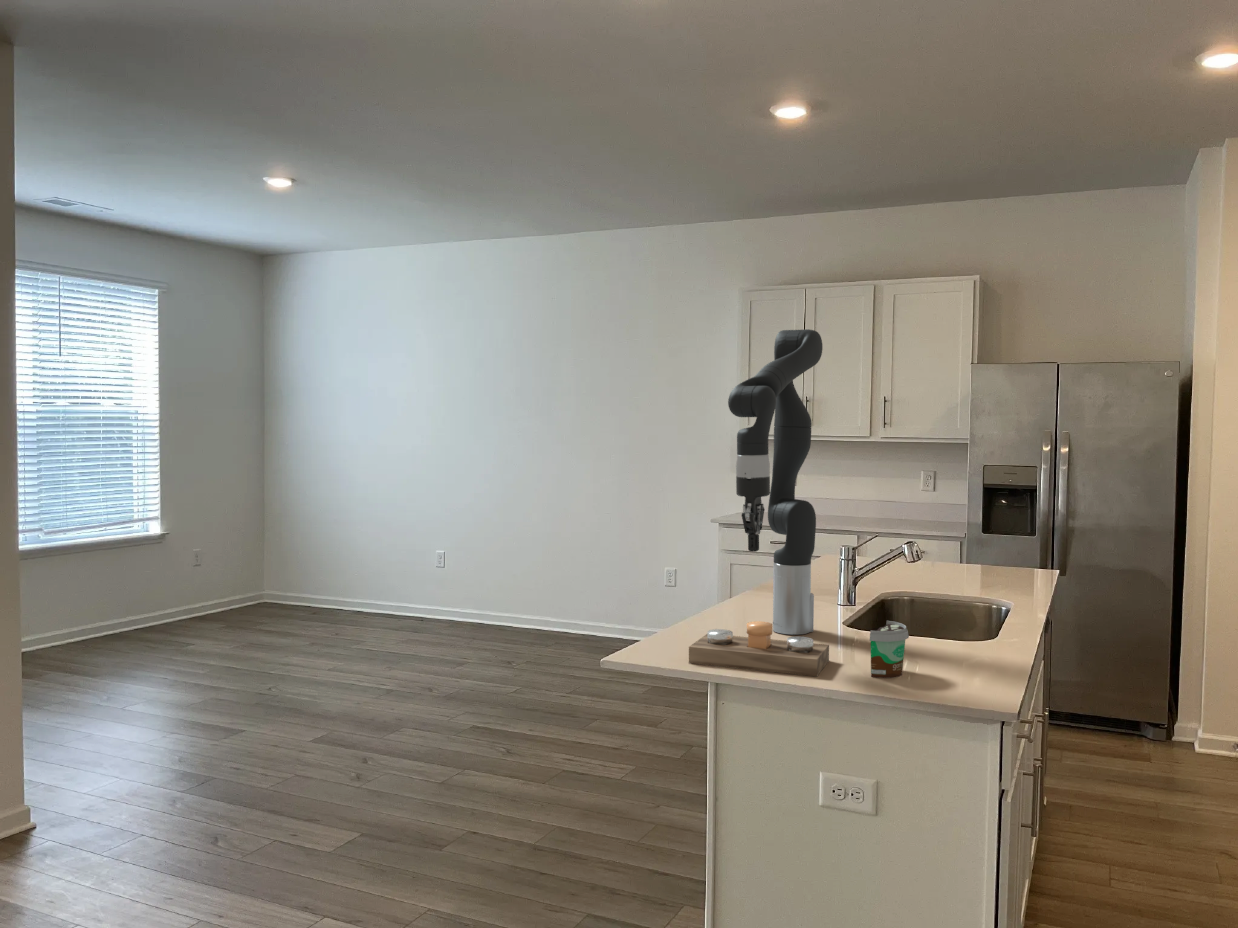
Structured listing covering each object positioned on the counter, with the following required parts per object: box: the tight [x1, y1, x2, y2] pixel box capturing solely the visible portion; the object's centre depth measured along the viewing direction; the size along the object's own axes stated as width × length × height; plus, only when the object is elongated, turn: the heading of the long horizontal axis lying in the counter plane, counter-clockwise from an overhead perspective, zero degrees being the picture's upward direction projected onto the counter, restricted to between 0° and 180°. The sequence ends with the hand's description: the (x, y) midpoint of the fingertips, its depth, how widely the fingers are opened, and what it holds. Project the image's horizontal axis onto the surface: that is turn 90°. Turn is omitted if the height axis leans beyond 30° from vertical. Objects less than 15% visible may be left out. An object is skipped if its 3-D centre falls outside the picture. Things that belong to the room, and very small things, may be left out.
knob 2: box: [786, 635, 814, 653], centre depth 212 cm, size 6×6×5 cm
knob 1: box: [706, 628, 734, 645], centre depth 219 cm, size 6×6×5 cm
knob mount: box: [688, 633, 830, 677], centre depth 215 cm, size 14×28×4 cm, turn 68°
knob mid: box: [746, 620, 773, 649], centre depth 215 cm, size 6×6×5 cm
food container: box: [869, 620, 910, 679], centre depth 206 cm, size 12×6×10 cm, turn 148°
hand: (753, 550), depth 221 cm, fingers closed
